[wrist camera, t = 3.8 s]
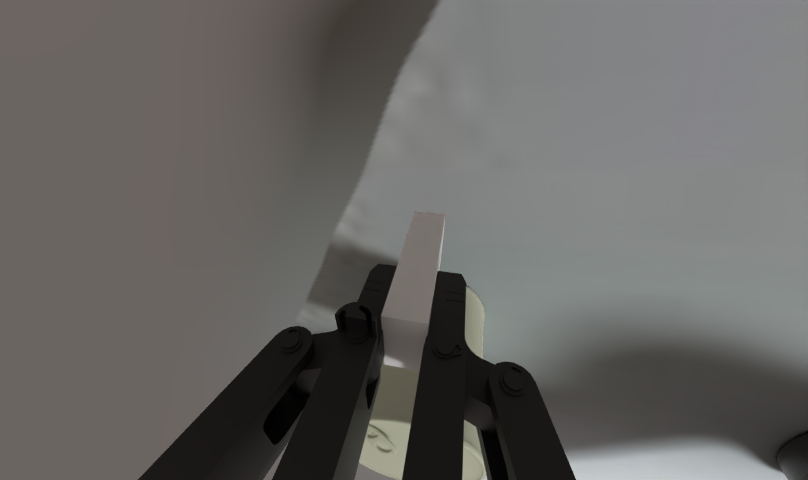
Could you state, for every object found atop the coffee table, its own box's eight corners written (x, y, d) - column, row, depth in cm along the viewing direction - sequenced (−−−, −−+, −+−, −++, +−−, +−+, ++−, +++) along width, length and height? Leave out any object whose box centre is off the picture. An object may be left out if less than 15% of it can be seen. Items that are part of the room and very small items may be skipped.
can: (443, 255, 23) (419, 418, 13) (504, 326, 26) (520, 499, 16) (363, 295, 27) (301, 438, 18) (423, 351, 30) (398, 498, 21)
